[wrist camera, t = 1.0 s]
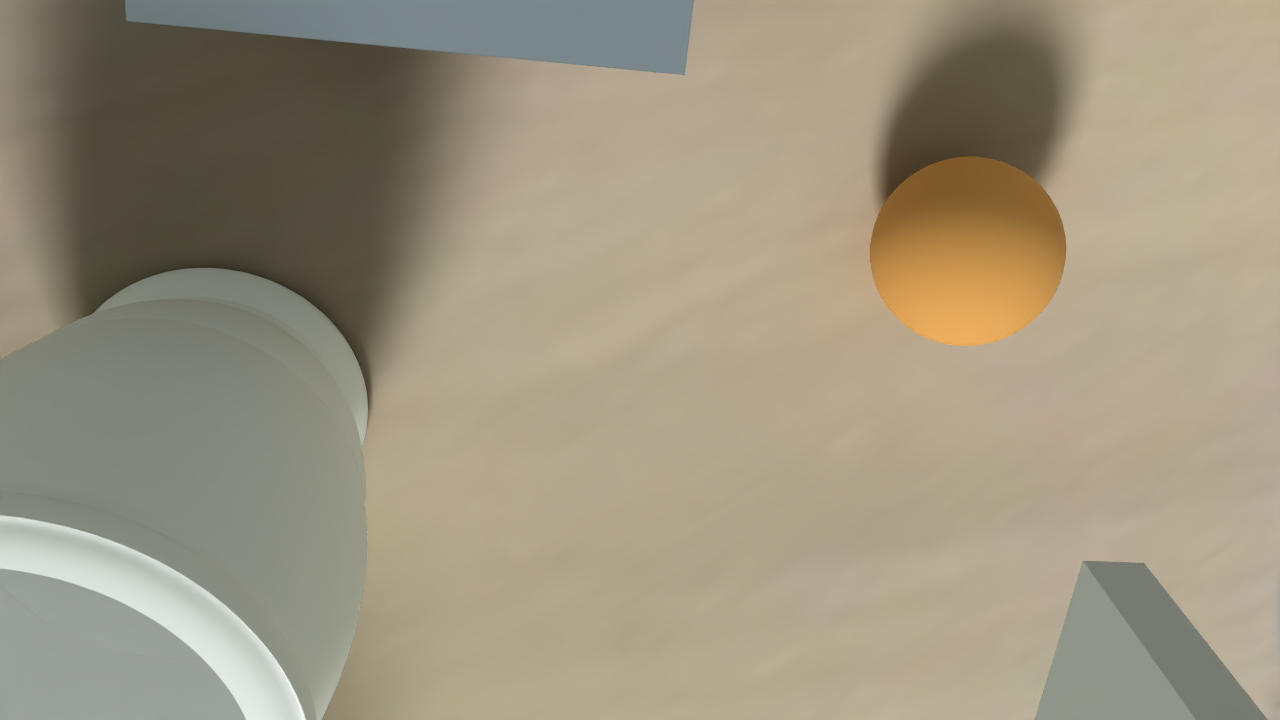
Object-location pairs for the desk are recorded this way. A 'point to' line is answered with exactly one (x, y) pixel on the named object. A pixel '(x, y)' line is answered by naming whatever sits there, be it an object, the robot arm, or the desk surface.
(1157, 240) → the desk surface
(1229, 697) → the robot arm
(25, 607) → the jar
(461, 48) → the slate gray cube
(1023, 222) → the ball
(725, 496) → the desk surface
